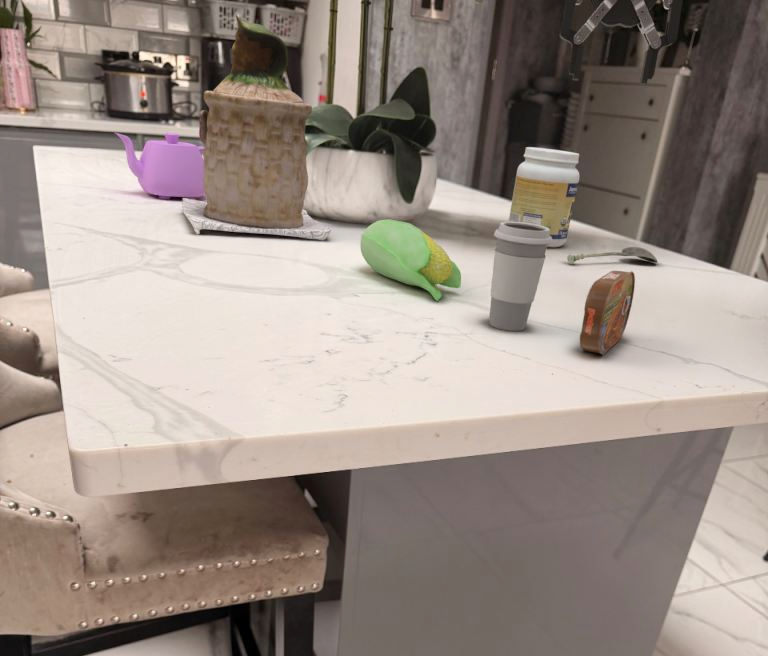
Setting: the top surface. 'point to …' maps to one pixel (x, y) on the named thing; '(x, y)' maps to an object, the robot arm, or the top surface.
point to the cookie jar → (254, 146)
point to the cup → (516, 272)
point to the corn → (408, 256)
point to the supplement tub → (546, 191)
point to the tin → (607, 311)
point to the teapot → (168, 167)
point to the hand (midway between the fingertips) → (609, 82)
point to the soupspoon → (618, 254)
